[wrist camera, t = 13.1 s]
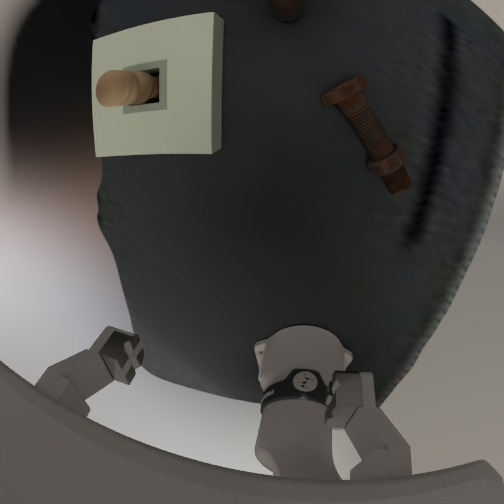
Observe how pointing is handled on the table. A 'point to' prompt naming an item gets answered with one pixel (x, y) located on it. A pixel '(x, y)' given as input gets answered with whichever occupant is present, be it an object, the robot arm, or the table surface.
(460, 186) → the table surface
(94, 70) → the board
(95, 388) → the robot arm
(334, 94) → the bolt
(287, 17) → the grenade
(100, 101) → the peg
